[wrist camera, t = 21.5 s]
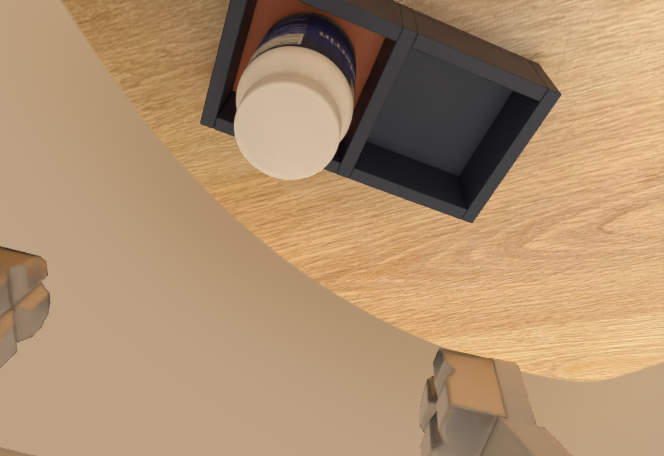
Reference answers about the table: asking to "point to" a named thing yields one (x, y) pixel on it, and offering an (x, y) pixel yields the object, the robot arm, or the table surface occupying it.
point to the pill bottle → (296, 96)
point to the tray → (407, 100)
